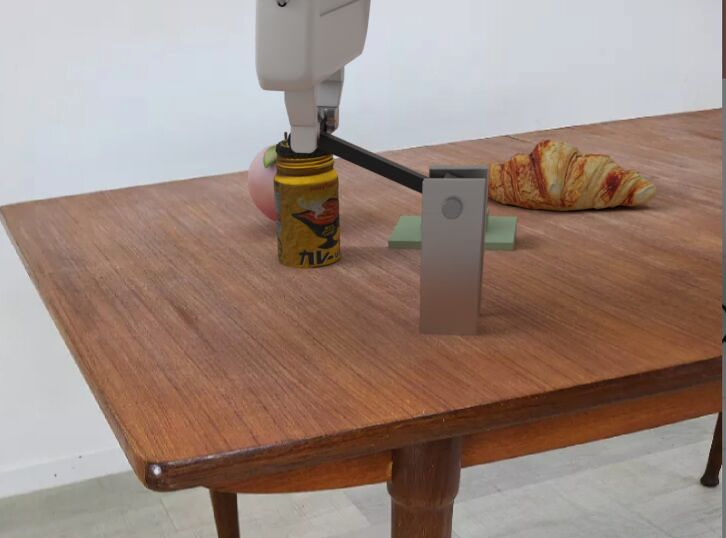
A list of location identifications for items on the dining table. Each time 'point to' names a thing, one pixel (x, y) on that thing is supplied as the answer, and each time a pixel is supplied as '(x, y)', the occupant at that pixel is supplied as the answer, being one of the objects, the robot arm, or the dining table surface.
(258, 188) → the decorative fruit
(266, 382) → the dining table surface
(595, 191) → the croissant
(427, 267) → the bracket
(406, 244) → the block
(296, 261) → the condiment
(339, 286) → the dining table surface
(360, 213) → the dining table surface
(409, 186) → the lever
